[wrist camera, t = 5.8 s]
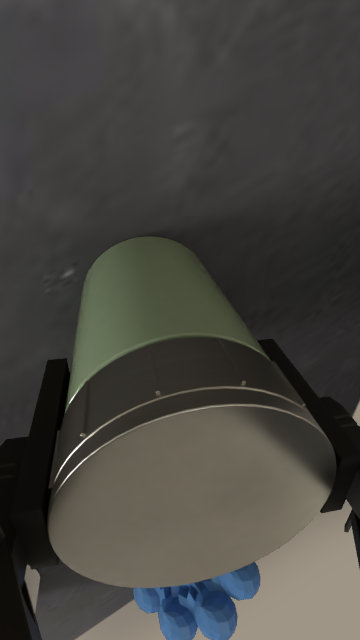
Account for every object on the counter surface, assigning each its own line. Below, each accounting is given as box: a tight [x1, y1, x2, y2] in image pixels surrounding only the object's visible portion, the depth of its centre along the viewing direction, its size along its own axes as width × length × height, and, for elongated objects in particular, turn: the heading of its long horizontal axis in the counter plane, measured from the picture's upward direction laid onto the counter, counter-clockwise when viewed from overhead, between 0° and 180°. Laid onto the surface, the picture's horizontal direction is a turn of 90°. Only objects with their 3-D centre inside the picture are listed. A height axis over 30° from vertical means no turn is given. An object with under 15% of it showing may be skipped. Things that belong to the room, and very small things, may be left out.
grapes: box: [133, 562, 260, 640], centre depth 26 cm, size 12×7×12 cm, turn 126°
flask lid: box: [47, 337, 337, 588], centre depth 11 cm, size 8×8×3 cm
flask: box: [64, 236, 271, 415], centre depth 16 cm, size 8×8×14 cm
